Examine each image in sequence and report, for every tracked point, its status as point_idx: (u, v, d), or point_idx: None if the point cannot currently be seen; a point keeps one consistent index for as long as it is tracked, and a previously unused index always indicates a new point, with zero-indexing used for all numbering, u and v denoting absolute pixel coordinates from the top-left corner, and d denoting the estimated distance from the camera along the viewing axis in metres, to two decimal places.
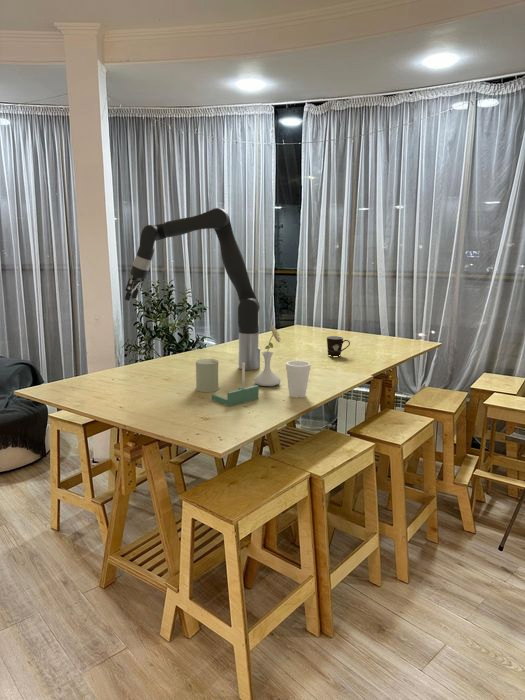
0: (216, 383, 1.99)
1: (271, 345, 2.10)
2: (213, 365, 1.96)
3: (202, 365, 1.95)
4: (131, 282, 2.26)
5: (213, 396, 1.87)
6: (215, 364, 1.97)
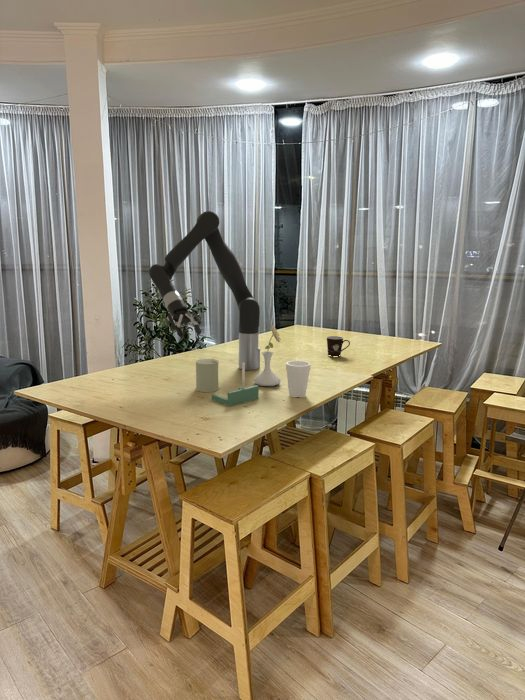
0: (216, 383, 1.99)
1: (271, 345, 2.10)
2: (213, 365, 1.96)
3: (202, 365, 1.95)
4: (168, 318, 2.03)
5: (213, 396, 1.87)
6: (215, 364, 1.97)
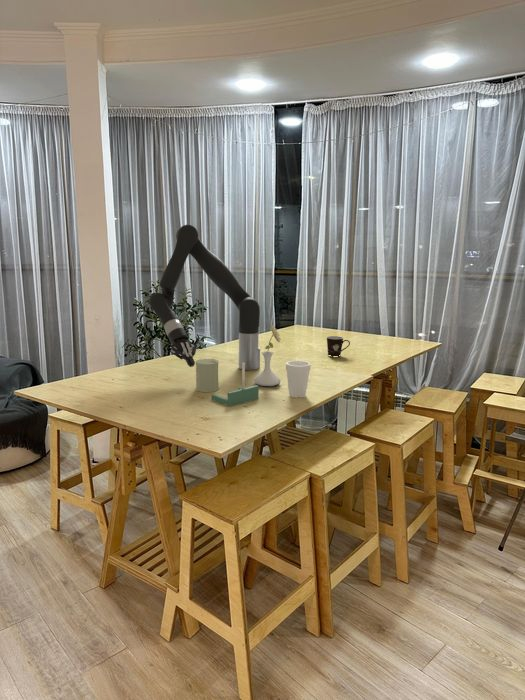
0: (216, 383, 1.99)
1: (271, 345, 2.10)
2: (213, 365, 1.96)
3: (202, 365, 1.95)
4: (174, 351, 2.05)
5: (213, 396, 1.87)
6: (215, 364, 1.97)
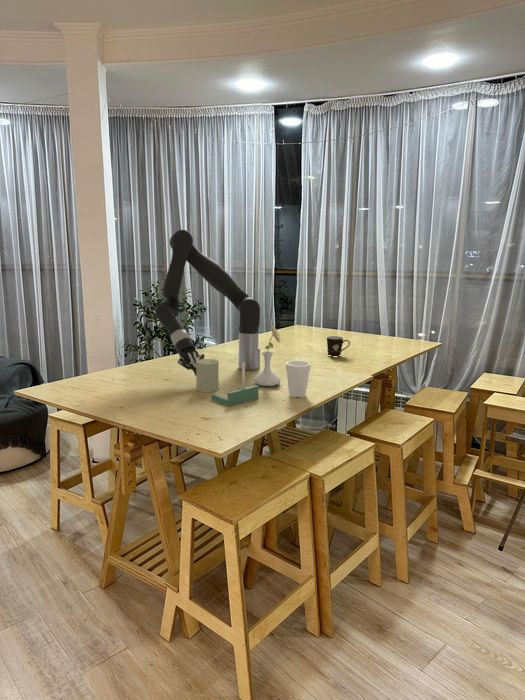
0: (216, 383, 1.99)
1: (271, 345, 2.10)
2: (213, 365, 1.96)
3: (202, 365, 1.95)
4: (181, 362, 2.03)
5: (213, 396, 1.87)
6: (215, 364, 1.97)
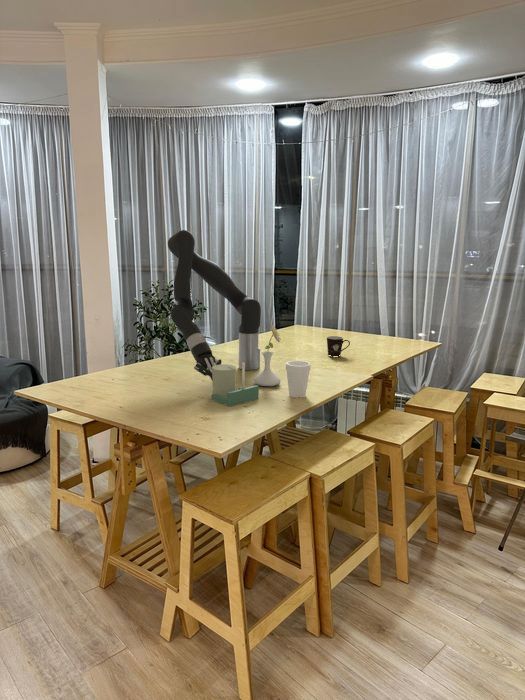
0: (232, 390, 1.90)
1: (271, 345, 2.10)
2: (229, 371, 1.87)
3: (217, 371, 1.87)
4: (197, 367, 1.95)
5: (213, 396, 1.87)
6: (231, 370, 1.87)
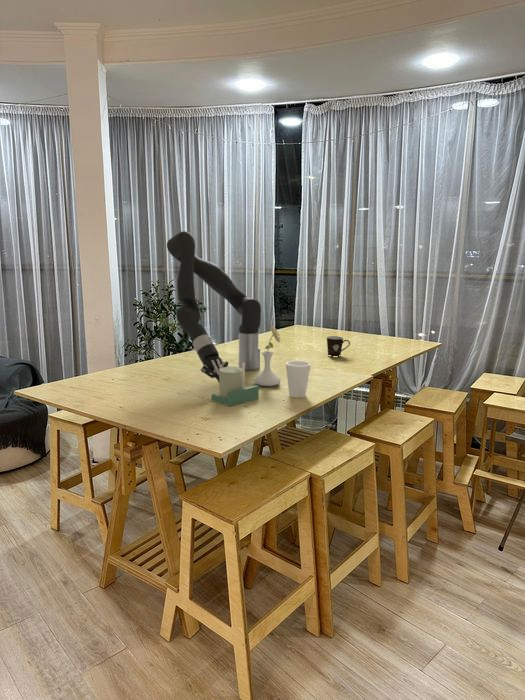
0: None
1: (271, 345, 2.10)
2: (236, 374, 1.84)
3: (224, 373, 1.84)
4: (204, 370, 1.92)
5: (213, 396, 1.87)
6: (238, 373, 1.84)
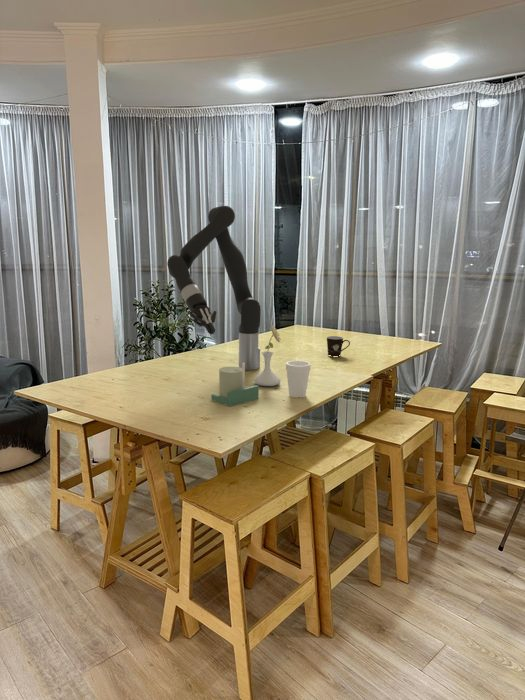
0: None
1: (271, 345, 2.10)
2: (236, 374, 1.84)
3: (224, 373, 1.84)
4: (193, 317, 1.94)
5: (213, 396, 1.87)
6: (238, 373, 1.84)
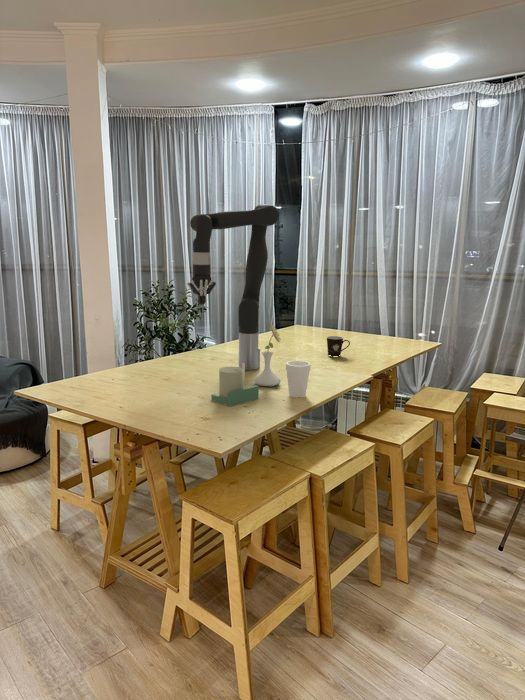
0: None
1: (271, 345, 2.10)
2: (236, 374, 1.84)
3: (224, 373, 1.84)
4: (190, 286, 2.08)
5: (213, 396, 1.87)
6: (238, 373, 1.84)
